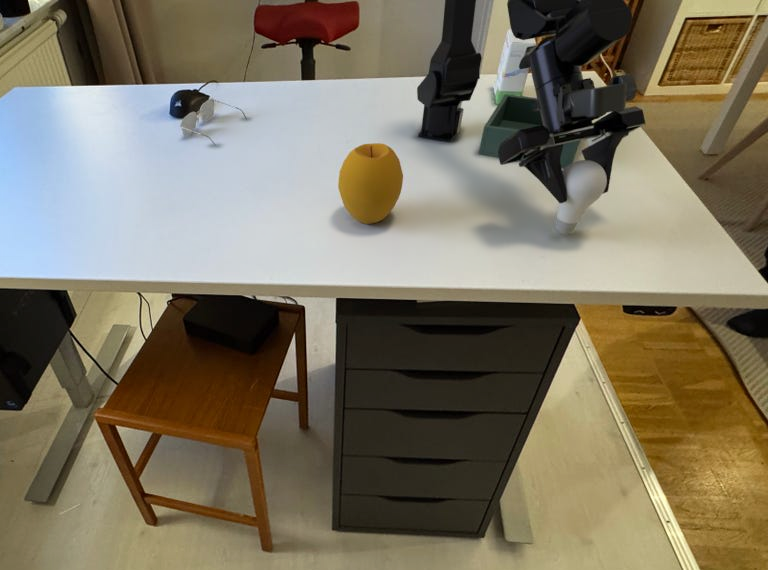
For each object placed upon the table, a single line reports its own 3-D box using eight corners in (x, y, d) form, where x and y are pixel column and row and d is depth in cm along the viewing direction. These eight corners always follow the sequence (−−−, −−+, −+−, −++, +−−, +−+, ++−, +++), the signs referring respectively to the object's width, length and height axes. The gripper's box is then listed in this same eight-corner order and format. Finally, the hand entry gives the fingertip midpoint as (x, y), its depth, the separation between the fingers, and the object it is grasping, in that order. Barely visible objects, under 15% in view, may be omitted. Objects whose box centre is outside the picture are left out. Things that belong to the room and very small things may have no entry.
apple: (373, 194, 91) (377, 124, 82) (413, 219, 85) (422, 146, 76) (326, 214, 87) (325, 143, 79) (364, 241, 81) (368, 167, 73)
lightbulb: (586, 226, 80) (615, 155, 72) (582, 249, 76) (612, 177, 68) (543, 218, 82) (566, 149, 74) (537, 240, 78) (561, 169, 70)
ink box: (493, 89, 119) (505, 28, 110) (518, 89, 118) (532, 28, 109) (495, 104, 113) (508, 41, 104) (521, 105, 112) (537, 41, 103)
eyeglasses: (215, 114, 118) (214, 95, 115) (248, 121, 116) (247, 102, 113) (180, 140, 110) (178, 121, 107) (215, 149, 107) (213, 129, 104)
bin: (478, 154, 98) (484, 126, 95) (499, 120, 108) (504, 94, 104) (570, 169, 93) (579, 140, 89) (583, 132, 102) (592, 104, 98)
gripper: (534, 63, 63) (563, 193, 64) (668, 38, 66) (694, 163, 67) (484, 106, 74) (510, 217, 75) (601, 84, 77) (624, 191, 78)
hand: (583, 197), depth 74 cm, fingers closed on lightbulb, 6 cm apart
